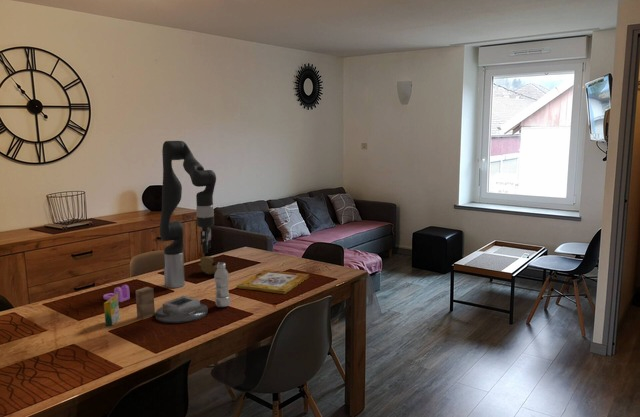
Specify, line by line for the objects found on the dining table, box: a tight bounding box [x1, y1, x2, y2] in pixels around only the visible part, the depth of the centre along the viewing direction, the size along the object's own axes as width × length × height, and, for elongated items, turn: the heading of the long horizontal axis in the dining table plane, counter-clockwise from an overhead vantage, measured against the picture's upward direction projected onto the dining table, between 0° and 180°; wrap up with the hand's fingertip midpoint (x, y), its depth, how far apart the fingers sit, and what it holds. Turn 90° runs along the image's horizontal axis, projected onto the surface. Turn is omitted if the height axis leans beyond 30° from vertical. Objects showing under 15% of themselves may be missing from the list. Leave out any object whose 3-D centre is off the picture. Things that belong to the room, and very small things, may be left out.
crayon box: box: [103, 293, 121, 327], centre depth 204 cm, size 7×3×12 cm, turn 178°
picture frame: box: [236, 269, 310, 295], centre depth 258 cm, size 27×2×30 cm
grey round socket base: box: [154, 295, 209, 324], centre depth 214 cm, size 22×22×6 cm
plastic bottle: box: [213, 261, 231, 308], centre depth 221 cm, size 6×7×20 cm
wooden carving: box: [198, 255, 218, 275], centre depth 275 cm, size 16×5×10 cm, turn 58°
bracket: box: [102, 284, 131, 303], centre depth 234 cm, size 13×6×7 cm, turn 64°
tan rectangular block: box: [135, 286, 156, 320], centre depth 211 cm, size 4×6×12 cm, turn 148°
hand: (206, 251), depth 220 cm, fingers open, 8 cm apart
